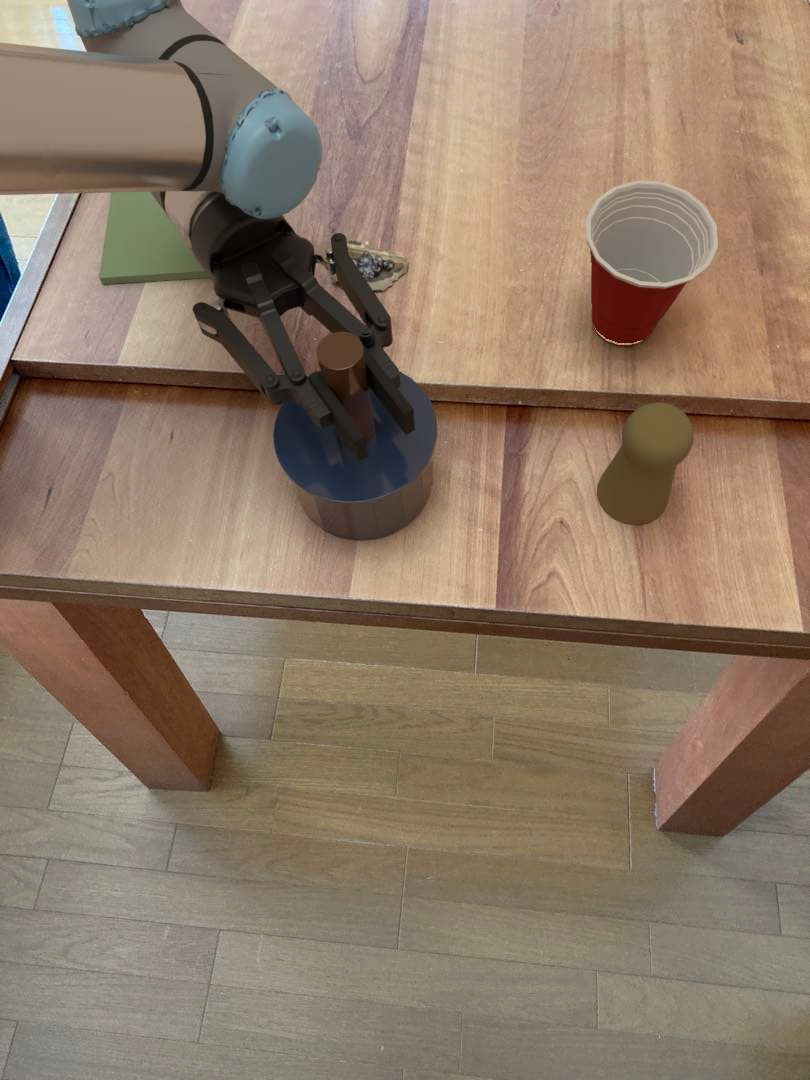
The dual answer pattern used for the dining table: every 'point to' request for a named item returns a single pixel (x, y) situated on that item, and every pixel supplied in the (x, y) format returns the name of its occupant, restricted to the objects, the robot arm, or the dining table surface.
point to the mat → (144, 243)
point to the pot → (370, 511)
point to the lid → (392, 456)
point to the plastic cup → (644, 254)
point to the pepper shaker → (645, 464)
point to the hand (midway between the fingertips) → (385, 435)
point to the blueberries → (376, 264)
